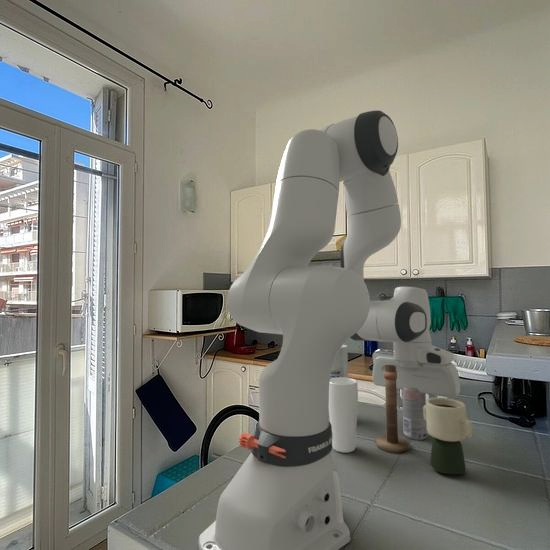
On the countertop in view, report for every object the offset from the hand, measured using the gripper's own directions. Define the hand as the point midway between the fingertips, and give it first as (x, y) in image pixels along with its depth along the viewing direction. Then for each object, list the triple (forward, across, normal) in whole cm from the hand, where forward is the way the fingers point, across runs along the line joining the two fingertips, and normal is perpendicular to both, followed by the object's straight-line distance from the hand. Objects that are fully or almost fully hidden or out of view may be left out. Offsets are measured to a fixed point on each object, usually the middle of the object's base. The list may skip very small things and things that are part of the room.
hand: (414, 409), depth 85 cm
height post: (+6, -2, -9) cm, 11 cm away
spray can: (+6, -21, -1) cm, 22 cm away
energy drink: (+6, 0, 0) cm, 6 cm away
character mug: (+6, +11, -13) cm, 18 cm away
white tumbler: (+6, -10, -17) cm, 21 cm away
